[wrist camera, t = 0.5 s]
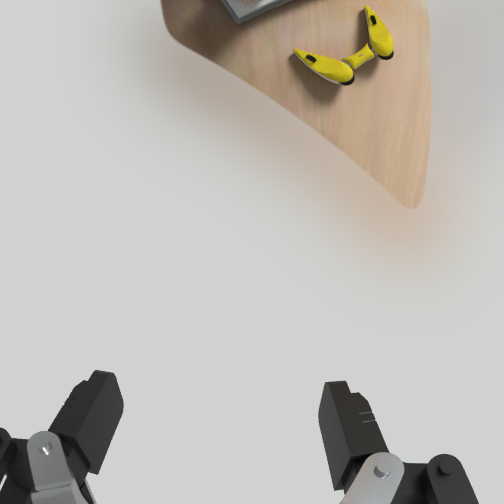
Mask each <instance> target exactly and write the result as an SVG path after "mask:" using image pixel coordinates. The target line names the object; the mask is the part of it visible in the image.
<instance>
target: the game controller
mask: <svg viewBox="0 0 504 504" xmlns="http://www.w3.org/2000/svg"><path fill="white" fill-rule="evenodd" d="M364 10H365V15H366V19H367V25H368V32H369V39H370V44H371V48H372V49H371V50H370V49H369V47H368V43H367V44H366V45H365V46H364V47H363V48H362V49H361V50H360V51H359V52H357V53H356V54H354V55H352V56H350V57H347V58H343V59H342V61H343V62H346V63H347V64H348V65H346V64H345V63H343V62H341V61H338V60H335V59H332V58H328V57H324V56H320V55H316V54H312V53H308V52H304V51H301V50H299V49H293V50H294V52H295V54H296V56H297V57H298V58H299V59H300V60H301V61H302V62H303V63H304V64H305V65H306V66H308V67H309V68H310V69H311V70H312V71H314V72H315V73H316V74H318V75H319V76H321V77H322V78H324V79H326V80H328V81H330V82H332V83H335V84H338V85H350V84H352V83H353V82H354V79H355V78H354V74H353V71H352V69H353V70H355V69H356V68H358V67H359V66H360V65H362V64H363V63H365V62H366V61H368V60H370V59H372V58H374V57H375V55H376V57H378V58H379V59H381V60H389V59H391V58H392V57H393V54H394V52H393V40H392V37H391V35H390V33H389V31H388V29H387V27H386V26H385V25H384V23H383V22H382V21H381V19H380V18H379V17H378V16H377V15H376V13H375V12H373V11H372V10H371V9H370V8H369V7H368V6H367V5H365V8H364ZM373 52H374V53H373ZM350 66H351V68H352V69H351V68H350Z"/></svg>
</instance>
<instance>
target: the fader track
mask: <svg viewBox="0 0 504 504" xmlns="http://www.w3.org/2000/svg"><path fill="white" fill-rule="evenodd" d="M220 1H221V2H222V3H223V5H224V6H225V8H226V9H227V10H228V12H229V13H230V15H231V16H232V18H233V19H234V21H235V22H236V24H237V25H240V24H242V23H244V22H246V21H248V20H250V19H252V18H254V17H256V16H258V15H260V14H263V13H265V12H267V11H269V10H271V9H274V8H276V7H278V6H281V5H283V4H286V3H288V2H290V1H293V0H250V1H248V2H246V3H243V1H242V0H220Z"/></svg>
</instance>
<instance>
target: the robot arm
mask: <svg viewBox="0 0 504 504" xmlns="http://www.w3.org/2000/svg"><path fill="white" fill-rule="evenodd" d="M123 406H124V405H123V399H122V396H121V392H120V389H119V386H118V383H117V379H116V376H115V374H114V373H111V372H105V371H99V370H95V371H94V372H93V374H92V375H91V377H90V378H89V380H88V381H85V380H84V381H82V382H81V383H79V384H78V385H77V386H75V387H74V389H73V390H72V392H71V394H70V395H69V398H67V400H66V402H65V405H63V406H62V408H61V410H60V411H59V413H58V414H57V416H56V418H55V419H54V421H53V423H52V424H51V426H50V428H49V429H48V431H41V432H38V433H36V434H34V435H33V436H31V438H30V439H28V440H27V439H16V438H11V437H10V435H9V433H8V432H7V431H6V430H5V429H3V428H0V484H1V481H2V479H3V477H4V475H6V476H7V478H6V480H5V482H4V484H3V486H2V489H1V491H0V504H97V503H96V501H95V499H94V497H93V494H92V492H91V489H90V487H89V485H88V482H87V480H86V475H87V473H88V472H90V473H93V474H98V473H99V471H100V468H101V465H102V463H103V460H104V458H105V455H106V453H107V450H108V448H109V445H110V443H111V440H112V438H113V435H114V433H115V430H116V428H117V426H118V423H119V421H120V418H121V416H122V413H123ZM318 418H319V425H320V430H321V434H322V438H323V443H324V447H325V452H326V456H327V460H328V464H329V469H330V474H331V478H332V483H333V487H334V491H336V490H342V489H343V490H344V494H345V496H344V498H343V499H342V501H341V502H340V504H479V503H478V500H477V498H476V495H475V493H474V491H473V488H472V486H471V484H470V482H469V479H468V477H467V475H466V473H465V470H464V469H463V466H462V464H461V462H460V461H459V460H458V459H457V458H456V457H454V456H452V455H448V454H440V455H437V456H435V457H433V459H431V460H430V462H429V463H428V464H424V463H420V464H419V463H404V462H402V461H401V460H400V459H399V458H398V457H397V456H395V455H393V454H391V453H389V451H388V448H387V446H386V444H385V441H384V439H383V436H382V434H381V431H380V429H379V427H378V424H377V422H376V421H375V417H374V415H373V413H372V410H371V408H370V405H369V403H368V401H367V400H366V399H365V398H364V397H363V396H362V395H361V394H360V393H359V392H358V393H351V392H350V390H349V387H348V385H347V382H346V381H336V382H326V383H325V385H324V389H323V394H322V398H321V403H320V407H319V415H318Z"/></svg>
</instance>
